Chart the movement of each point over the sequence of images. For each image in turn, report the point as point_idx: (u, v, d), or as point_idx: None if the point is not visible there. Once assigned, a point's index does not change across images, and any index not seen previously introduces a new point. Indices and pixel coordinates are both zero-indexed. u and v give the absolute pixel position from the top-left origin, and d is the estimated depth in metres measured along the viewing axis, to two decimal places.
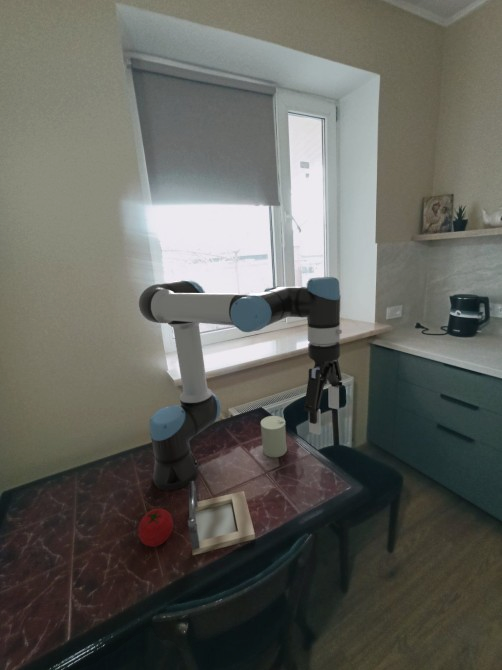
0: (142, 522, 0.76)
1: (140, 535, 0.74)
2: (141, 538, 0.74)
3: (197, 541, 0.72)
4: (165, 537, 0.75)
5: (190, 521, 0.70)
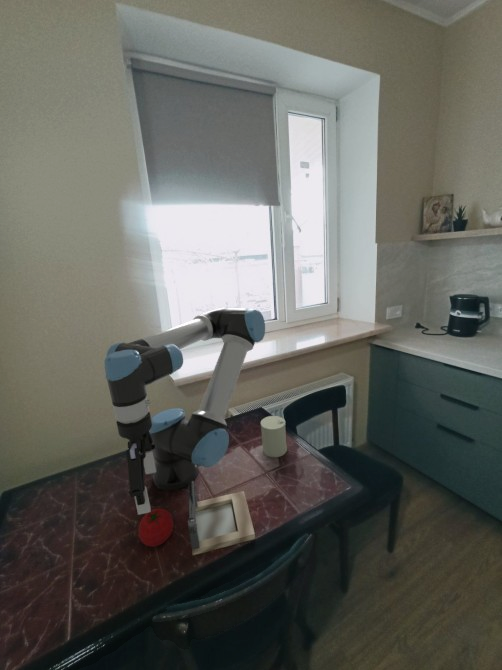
0: (142, 522, 0.76)
1: (140, 535, 0.74)
2: (141, 538, 0.74)
3: (197, 541, 0.72)
4: (165, 537, 0.75)
5: (190, 521, 0.70)
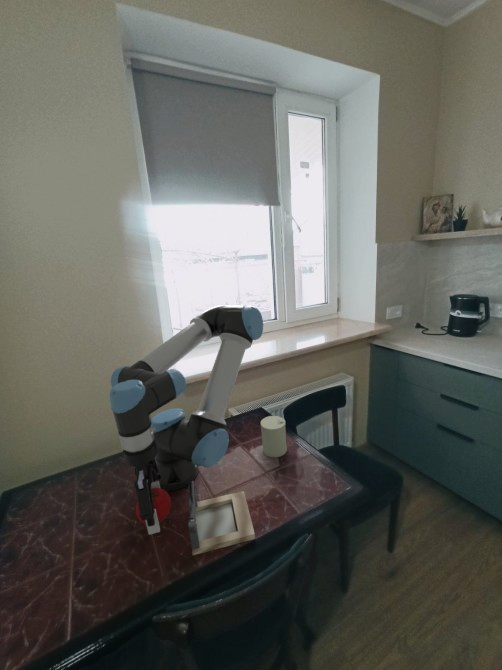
0: None
1: (137, 514, 0.73)
2: (138, 517, 0.73)
3: (197, 541, 0.72)
4: (163, 516, 0.74)
5: (190, 521, 0.70)
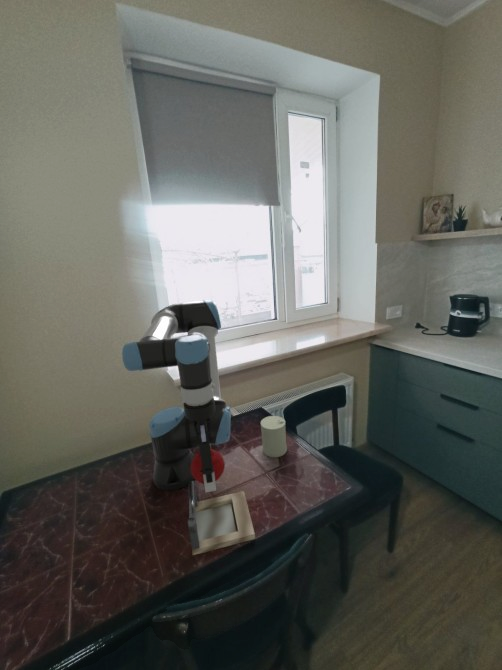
0: (195, 460, 0.75)
1: (194, 472, 0.73)
2: (195, 474, 0.73)
3: (197, 541, 0.72)
4: (219, 474, 0.74)
5: (190, 521, 0.70)
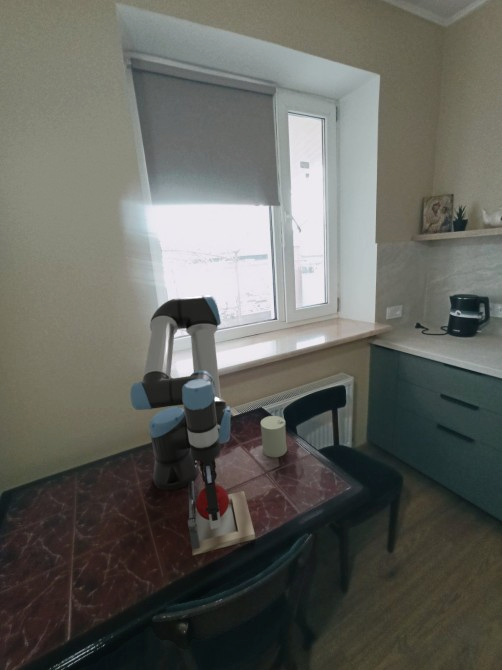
0: (200, 496, 0.78)
1: (199, 509, 0.76)
2: (200, 511, 0.76)
3: (197, 541, 0.72)
4: (223, 511, 0.77)
5: (190, 521, 0.70)
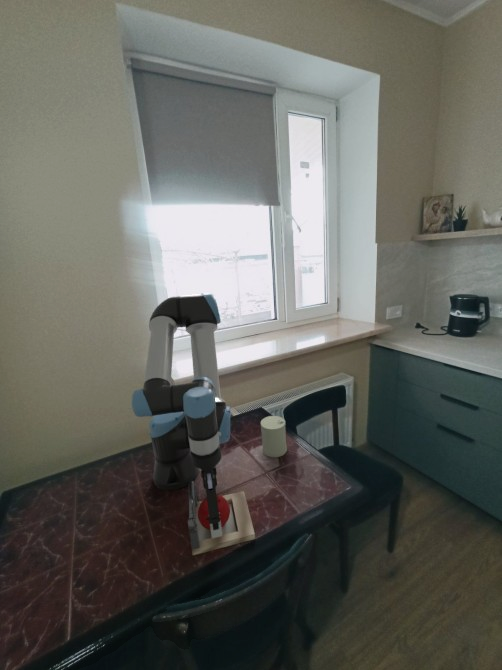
0: (202, 507, 0.79)
1: (201, 519, 0.77)
2: (202, 522, 0.77)
3: (197, 541, 0.72)
4: (225, 521, 0.78)
5: (190, 521, 0.70)
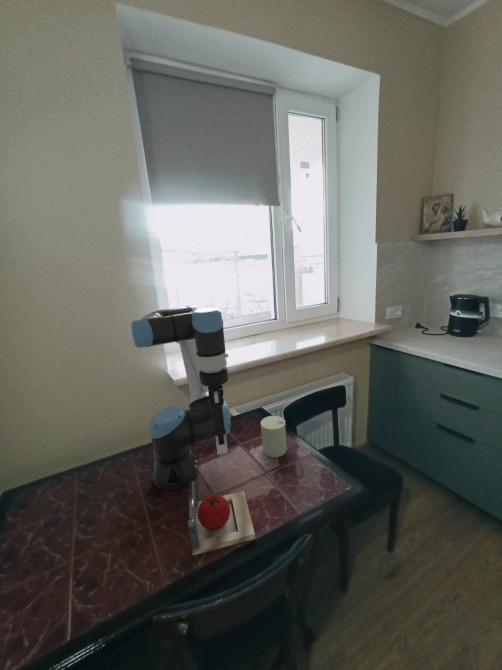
0: (202, 507, 0.79)
1: (201, 519, 0.77)
2: (202, 522, 0.77)
3: (197, 541, 0.72)
4: (224, 521, 0.77)
5: (190, 521, 0.70)
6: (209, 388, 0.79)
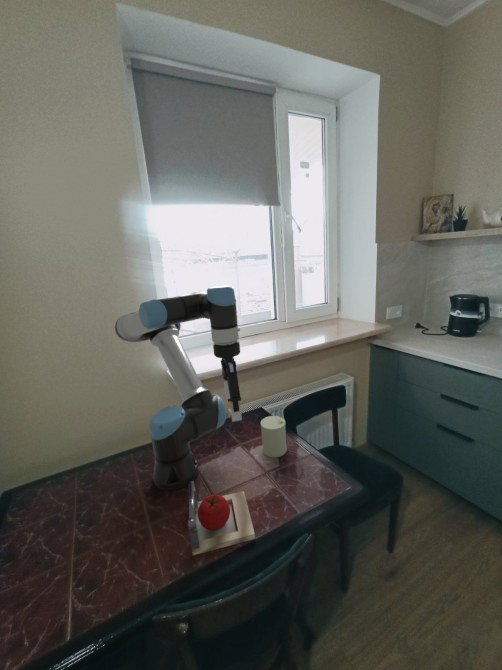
0: (202, 507, 0.79)
1: (201, 519, 0.77)
2: (202, 522, 0.77)
3: (197, 541, 0.72)
4: (224, 521, 0.77)
5: (190, 521, 0.70)
6: (222, 361, 0.85)
